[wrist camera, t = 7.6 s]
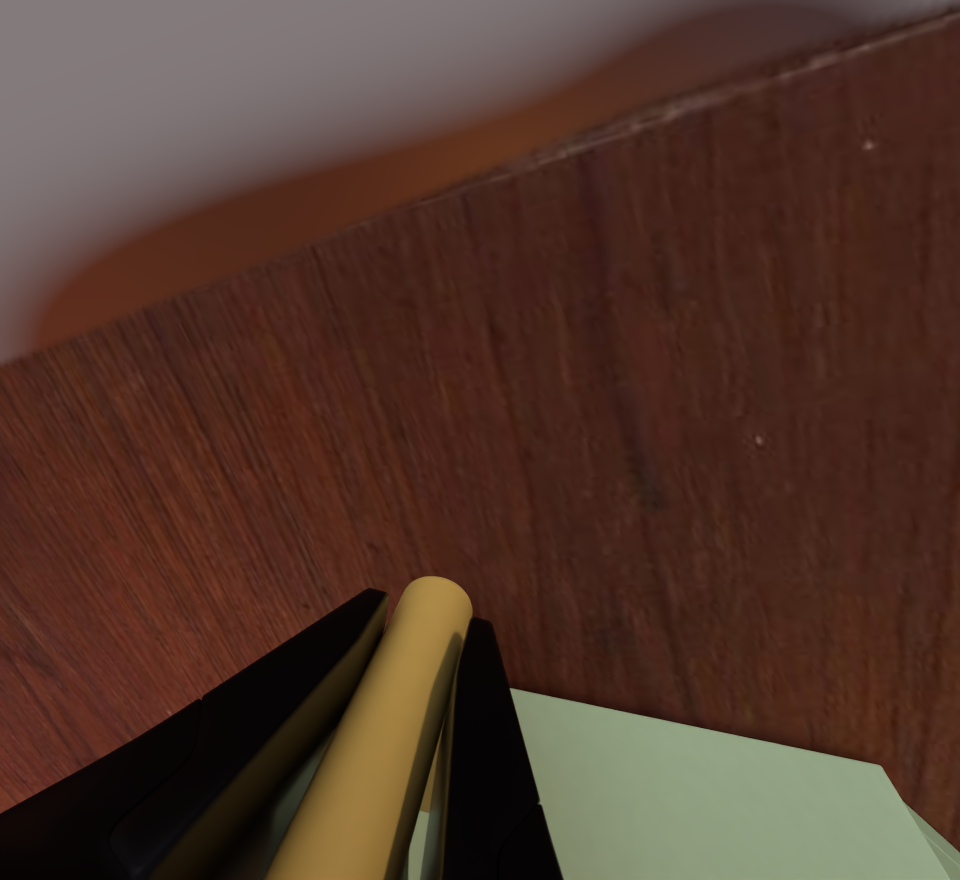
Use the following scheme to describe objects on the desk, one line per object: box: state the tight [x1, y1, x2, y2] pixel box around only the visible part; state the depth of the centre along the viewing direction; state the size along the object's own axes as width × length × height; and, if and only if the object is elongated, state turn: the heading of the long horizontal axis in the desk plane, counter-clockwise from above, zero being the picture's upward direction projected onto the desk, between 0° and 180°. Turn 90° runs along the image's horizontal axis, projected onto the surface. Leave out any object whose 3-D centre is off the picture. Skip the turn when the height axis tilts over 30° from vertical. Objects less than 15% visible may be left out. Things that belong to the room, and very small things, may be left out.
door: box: [262, 576, 951, 880], centre depth 8 cm, size 6×14×9 cm, turn 86°
